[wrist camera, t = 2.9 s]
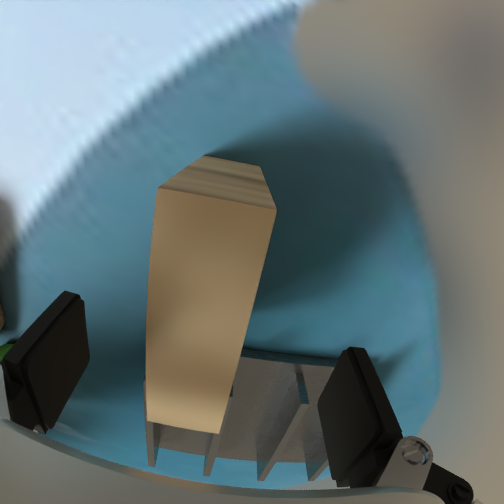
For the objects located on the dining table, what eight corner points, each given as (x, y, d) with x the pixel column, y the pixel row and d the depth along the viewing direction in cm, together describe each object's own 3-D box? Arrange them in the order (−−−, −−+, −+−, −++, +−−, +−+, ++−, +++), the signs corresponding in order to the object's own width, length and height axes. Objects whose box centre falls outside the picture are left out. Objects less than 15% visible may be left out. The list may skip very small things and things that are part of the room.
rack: (151, 331, 21) (137, 368, 17) (369, 361, 23) (385, 396, 19) (151, 437, 27) (145, 468, 23) (309, 455, 28) (314, 484, 25)
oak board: (203, 155, 17) (157, 187, 8) (259, 166, 17) (276, 210, 8) (180, 307, 20) (147, 420, 12) (227, 316, 21) (219, 433, 12)
